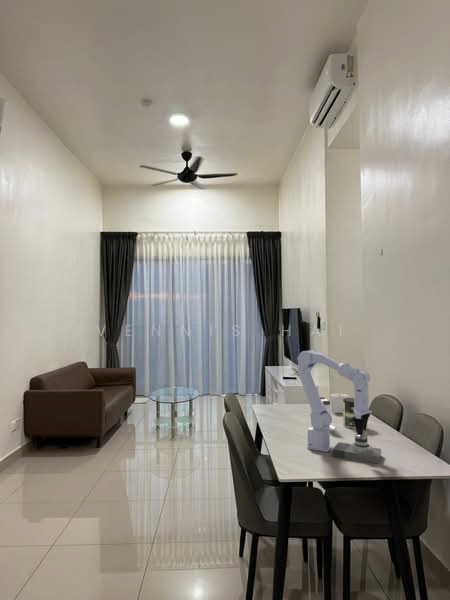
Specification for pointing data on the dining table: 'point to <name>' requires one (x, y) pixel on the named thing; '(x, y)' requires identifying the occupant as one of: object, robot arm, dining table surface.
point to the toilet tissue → (337, 402)
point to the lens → (361, 440)
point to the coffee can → (348, 413)
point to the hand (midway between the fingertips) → (361, 432)
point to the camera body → (357, 452)
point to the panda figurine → (327, 406)
